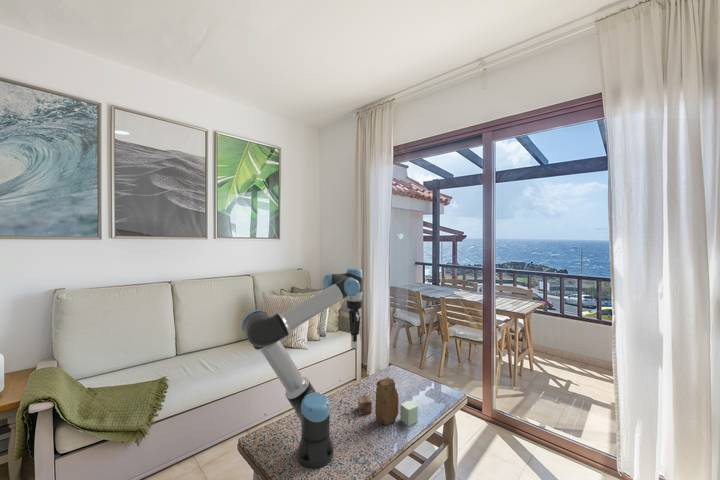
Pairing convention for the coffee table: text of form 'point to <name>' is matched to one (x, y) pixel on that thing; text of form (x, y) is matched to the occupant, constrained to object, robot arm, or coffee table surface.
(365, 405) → the walnut block
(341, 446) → the coffee table surface
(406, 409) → the green block
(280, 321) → the robot arm
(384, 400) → the pitted sandstone rock
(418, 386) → the coffee table surface
